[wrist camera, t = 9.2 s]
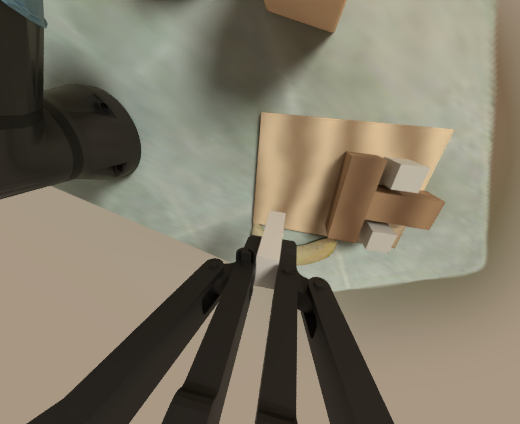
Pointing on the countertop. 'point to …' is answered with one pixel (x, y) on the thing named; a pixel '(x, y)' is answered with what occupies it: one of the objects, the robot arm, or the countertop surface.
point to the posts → (396, 178)
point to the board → (328, 162)
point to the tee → (374, 200)
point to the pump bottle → (309, 11)
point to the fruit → (307, 248)
